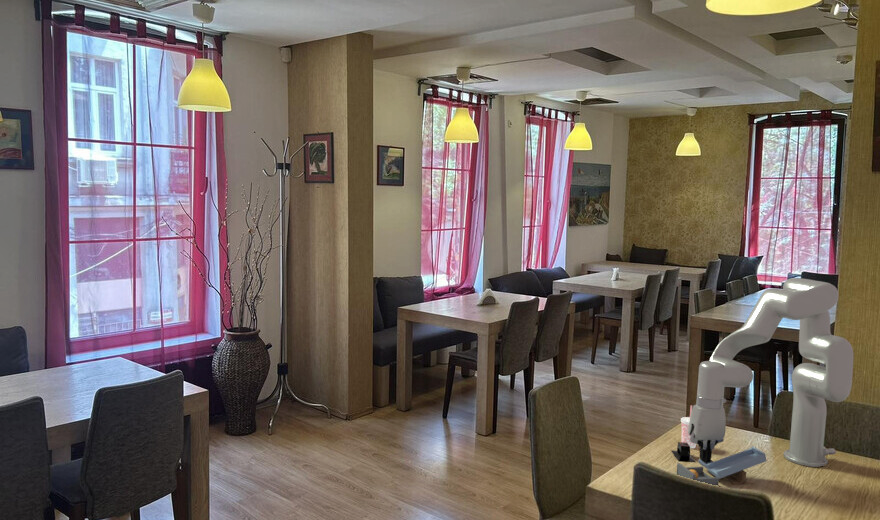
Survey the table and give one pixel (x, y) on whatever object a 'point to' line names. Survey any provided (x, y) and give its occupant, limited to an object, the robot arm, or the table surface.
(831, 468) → the table surface
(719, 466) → the lever
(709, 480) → the tray
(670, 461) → the table surface
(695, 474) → the ball
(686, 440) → the beverage cup
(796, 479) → the table surface
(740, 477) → the fulcrum
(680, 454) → the black boxy piece
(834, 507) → the table surface
